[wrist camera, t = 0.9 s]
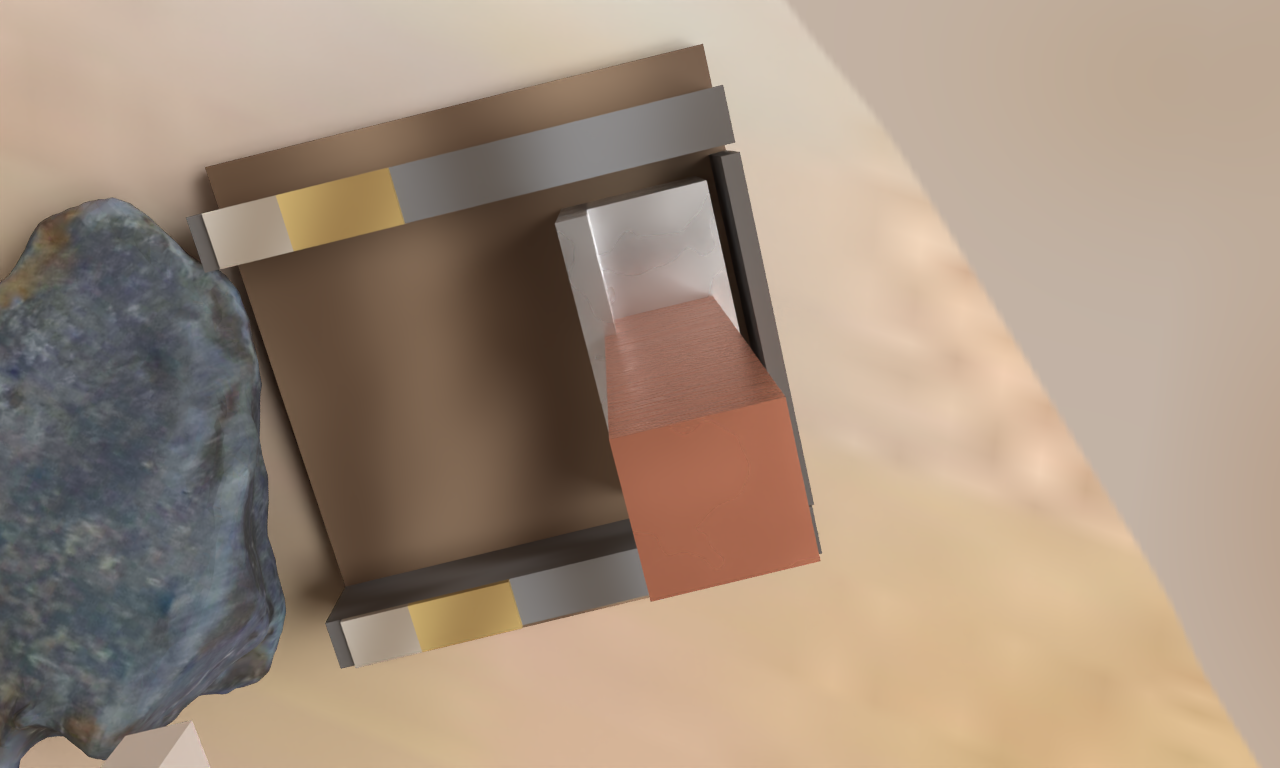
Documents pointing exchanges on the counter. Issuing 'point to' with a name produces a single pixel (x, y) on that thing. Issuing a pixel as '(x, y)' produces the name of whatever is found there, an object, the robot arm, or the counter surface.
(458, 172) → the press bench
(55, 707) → the rock
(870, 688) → the counter surface
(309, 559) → the counter surface
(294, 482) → the counter surface
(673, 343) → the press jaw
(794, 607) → the counter surface
